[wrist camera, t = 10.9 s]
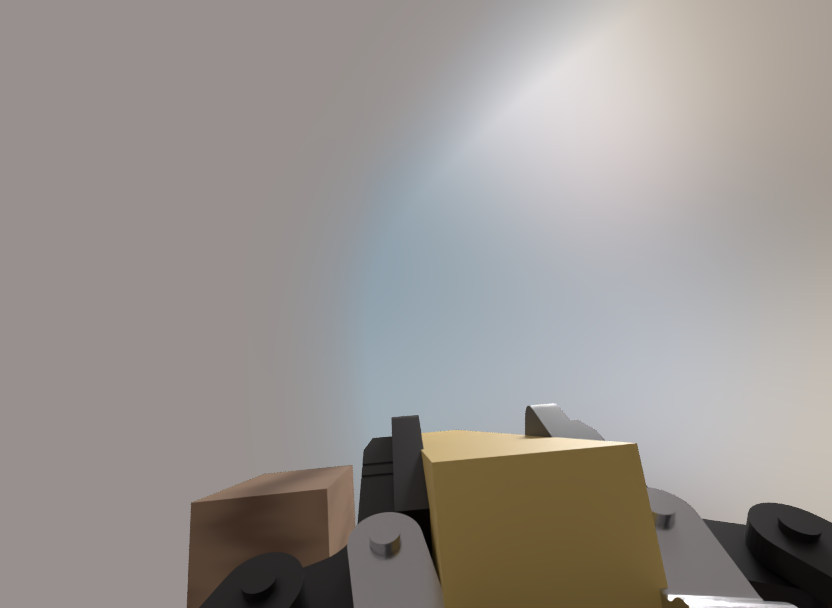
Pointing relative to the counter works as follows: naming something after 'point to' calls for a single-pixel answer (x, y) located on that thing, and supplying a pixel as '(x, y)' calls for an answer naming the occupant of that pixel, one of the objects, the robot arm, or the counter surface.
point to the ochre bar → (540, 522)
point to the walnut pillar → (269, 523)
